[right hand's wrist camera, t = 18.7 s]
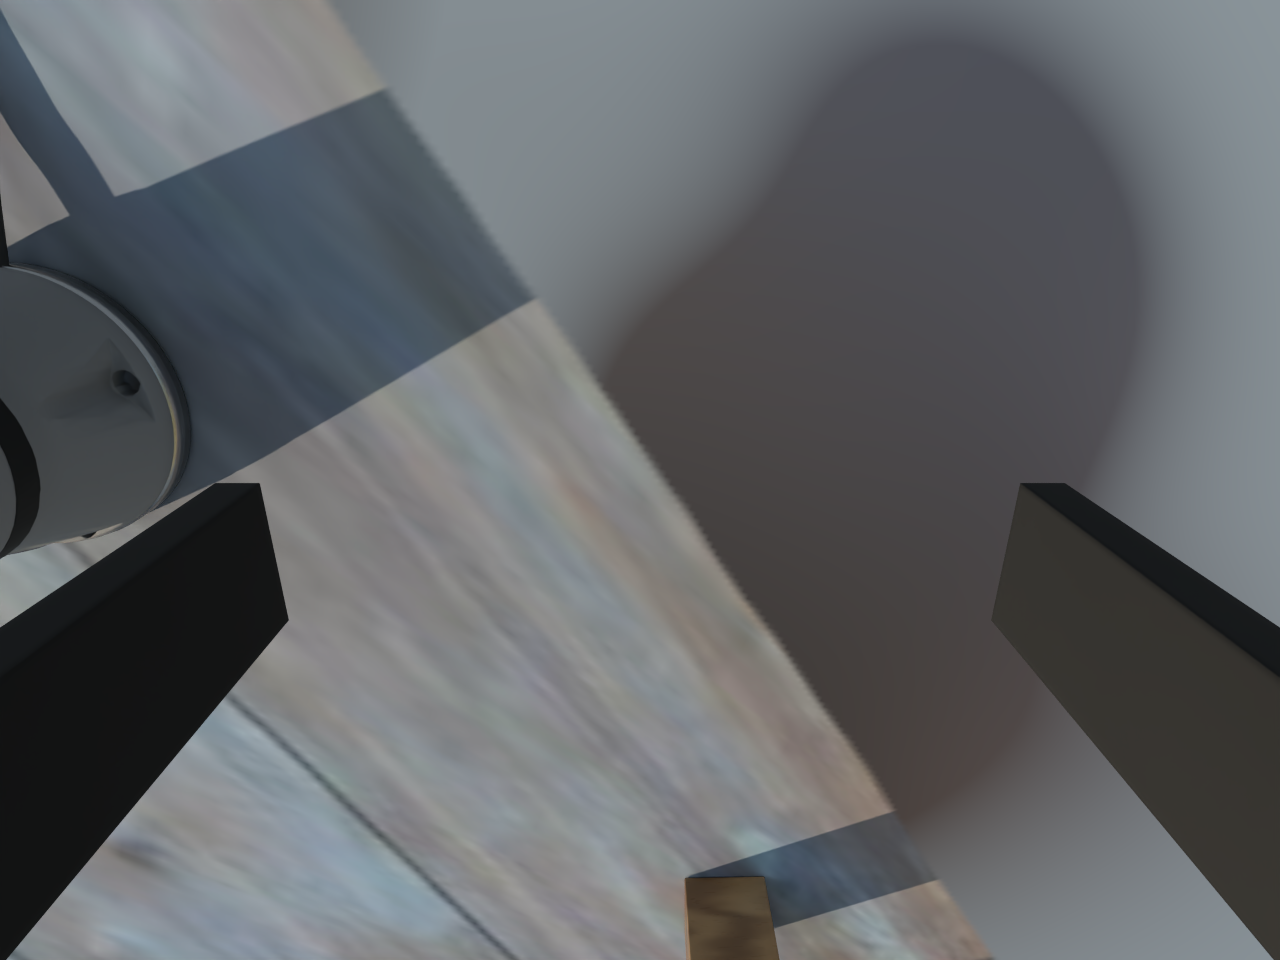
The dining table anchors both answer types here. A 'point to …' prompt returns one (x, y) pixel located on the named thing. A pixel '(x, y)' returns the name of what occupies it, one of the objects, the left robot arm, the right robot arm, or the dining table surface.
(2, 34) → the dining table surface
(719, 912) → the block
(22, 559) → the dining table surface
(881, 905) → the dining table surface
